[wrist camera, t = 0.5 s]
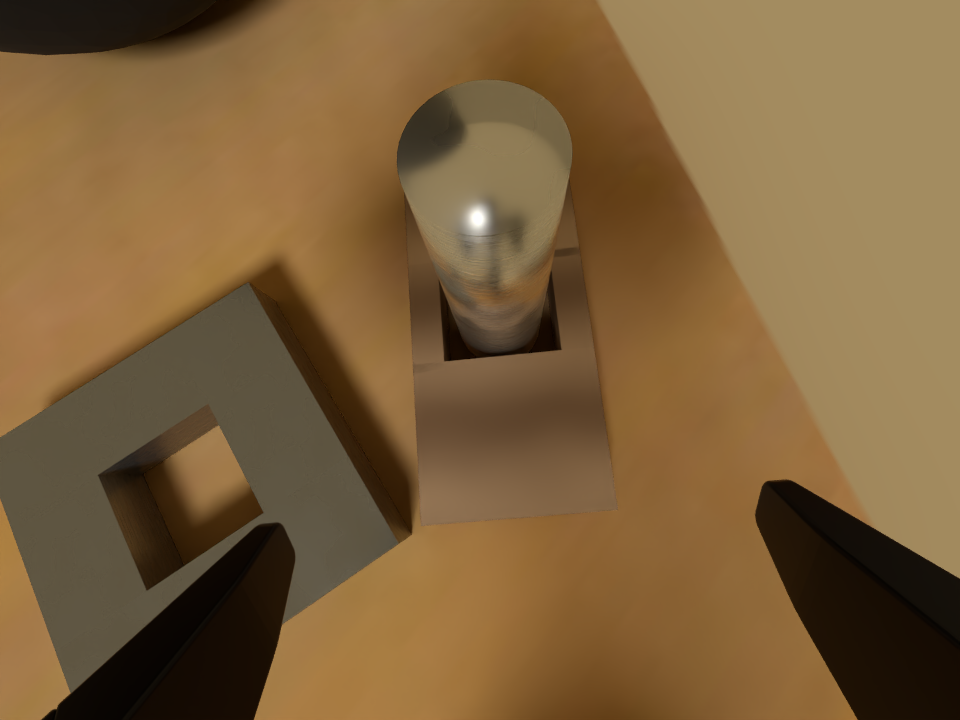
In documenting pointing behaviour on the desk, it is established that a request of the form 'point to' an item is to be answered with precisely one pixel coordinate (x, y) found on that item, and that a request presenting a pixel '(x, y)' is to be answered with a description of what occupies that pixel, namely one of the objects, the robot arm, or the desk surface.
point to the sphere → (89, 23)
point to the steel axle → (489, 205)
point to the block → (159, 434)
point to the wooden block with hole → (508, 405)
